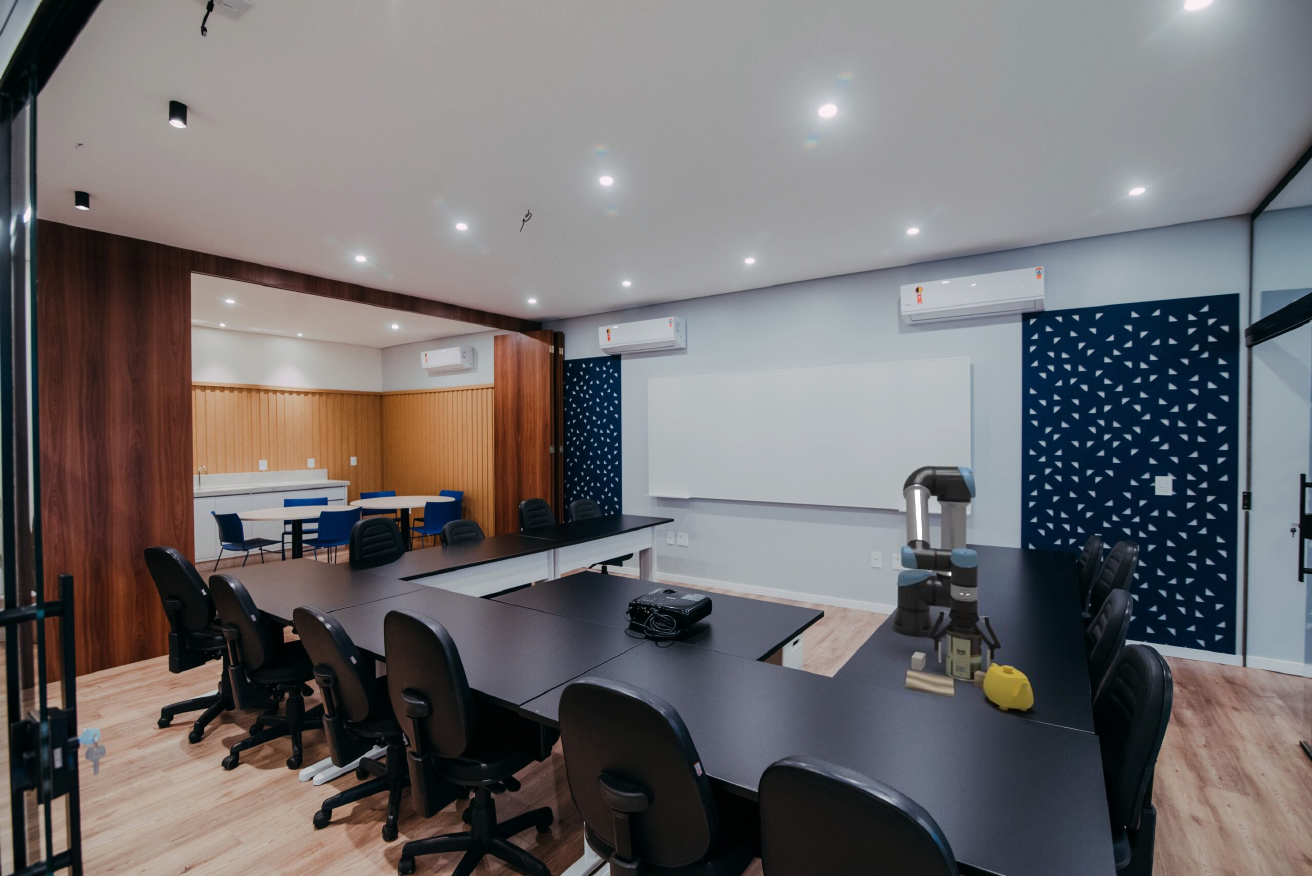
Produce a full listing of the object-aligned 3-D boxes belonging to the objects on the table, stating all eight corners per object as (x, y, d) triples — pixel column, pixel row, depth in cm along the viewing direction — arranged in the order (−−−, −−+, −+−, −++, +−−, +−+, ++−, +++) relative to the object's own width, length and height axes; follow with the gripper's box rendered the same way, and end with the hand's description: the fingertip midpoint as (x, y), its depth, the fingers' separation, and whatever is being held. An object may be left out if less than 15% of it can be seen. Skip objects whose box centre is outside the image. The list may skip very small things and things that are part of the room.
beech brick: (974, 686, 172) (974, 673, 172) (977, 683, 174) (977, 670, 174) (996, 692, 168) (996, 679, 168) (999, 689, 170) (999, 676, 170)
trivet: (907, 672, 182) (907, 669, 182) (953, 680, 176) (953, 677, 176) (905, 688, 170) (905, 685, 170) (954, 697, 164) (954, 694, 164)
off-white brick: (915, 663, 189) (915, 651, 189) (925, 665, 188) (925, 653, 188) (911, 669, 185) (911, 657, 185) (921, 671, 183) (921, 659, 183)
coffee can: (975, 670, 184) (975, 627, 184) (987, 683, 174) (987, 637, 174) (941, 667, 186) (941, 624, 186) (950, 680, 176) (951, 635, 176)
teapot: (1049, 722, 150) (1050, 681, 150) (1007, 720, 151) (1007, 680, 151) (1010, 691, 168) (1011, 655, 168) (972, 690, 169) (972, 654, 169)
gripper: (920, 596, 182) (920, 661, 182) (1011, 606, 171) (1010, 677, 171) (921, 590, 189) (920, 654, 189) (1008, 600, 178) (1008, 668, 178)
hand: (963, 665), depth 180 cm, fingers open, 13 cm apart
